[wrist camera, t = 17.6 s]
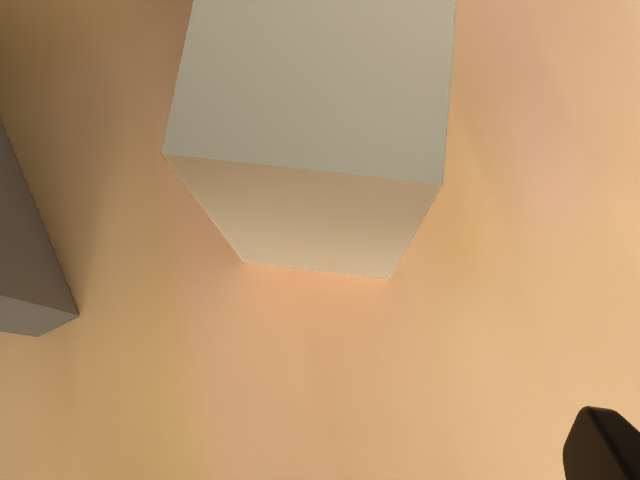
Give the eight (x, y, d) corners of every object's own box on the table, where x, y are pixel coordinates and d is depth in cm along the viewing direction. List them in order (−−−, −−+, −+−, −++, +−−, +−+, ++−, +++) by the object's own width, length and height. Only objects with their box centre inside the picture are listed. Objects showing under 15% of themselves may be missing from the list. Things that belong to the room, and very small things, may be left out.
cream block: (389, 279, 18) (442, 183, 9) (243, 262, 18) (160, 153, 9) (402, 143, 19) (459, -54, 10) (264, 129, 19) (209, -75, 11)
